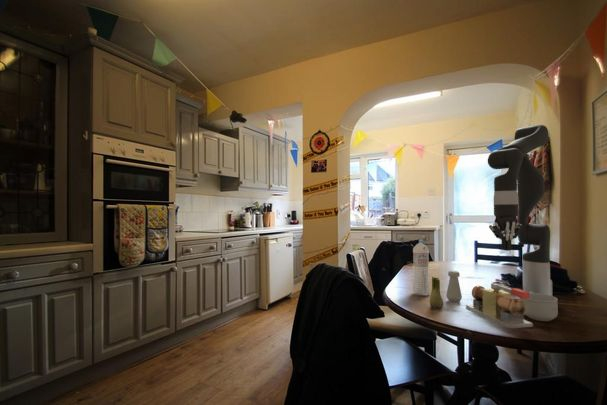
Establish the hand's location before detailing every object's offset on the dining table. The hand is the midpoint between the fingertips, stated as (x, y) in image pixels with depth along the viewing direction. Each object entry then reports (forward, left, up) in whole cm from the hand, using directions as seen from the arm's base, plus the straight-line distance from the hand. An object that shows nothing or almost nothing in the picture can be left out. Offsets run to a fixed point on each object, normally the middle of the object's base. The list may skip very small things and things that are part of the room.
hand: (506, 250), depth 107 cm
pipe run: (+4, 0, -24) cm, 25 cm away
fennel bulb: (+20, -12, -24) cm, 34 cm away
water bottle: (+16, -30, -24) cm, 42 cm away
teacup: (-11, +2, -24) cm, 27 cm away
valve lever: (+4, +5, -14) cm, 16 cm away
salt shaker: (+8, -18, -24) cm, 32 cm away
